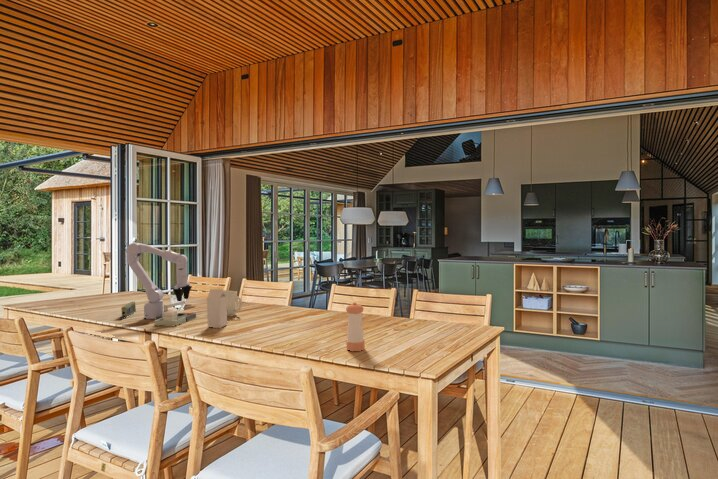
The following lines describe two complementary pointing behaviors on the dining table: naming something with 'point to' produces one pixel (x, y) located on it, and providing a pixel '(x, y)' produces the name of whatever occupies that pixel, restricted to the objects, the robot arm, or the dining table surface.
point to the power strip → (188, 316)
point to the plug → (170, 316)
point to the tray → (177, 322)
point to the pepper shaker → (355, 328)
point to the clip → (172, 305)
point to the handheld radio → (128, 309)
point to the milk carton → (216, 308)
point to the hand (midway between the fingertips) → (182, 299)
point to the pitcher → (232, 302)
